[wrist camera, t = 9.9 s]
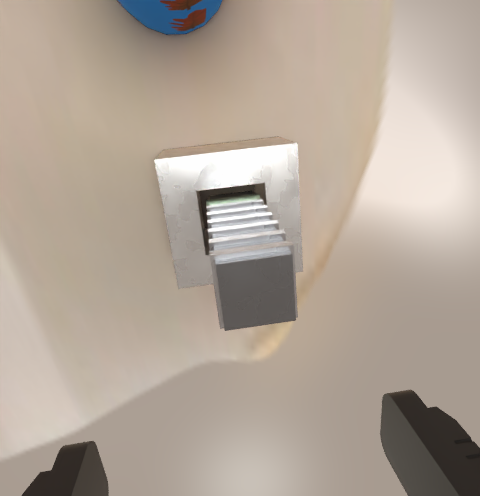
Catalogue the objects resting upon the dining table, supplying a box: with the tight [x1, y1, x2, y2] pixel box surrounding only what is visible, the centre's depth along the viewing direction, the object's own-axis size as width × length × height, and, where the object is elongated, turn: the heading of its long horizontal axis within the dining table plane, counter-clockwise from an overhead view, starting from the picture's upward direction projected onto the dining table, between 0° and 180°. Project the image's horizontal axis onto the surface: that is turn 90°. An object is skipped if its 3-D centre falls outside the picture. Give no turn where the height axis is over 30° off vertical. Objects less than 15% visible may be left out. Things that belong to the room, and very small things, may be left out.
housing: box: [155, 137, 303, 289], centre depth 36 cm, size 13×12×8 cm
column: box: [206, 190, 298, 331], centre depth 27 cm, size 4×4×16 cm
